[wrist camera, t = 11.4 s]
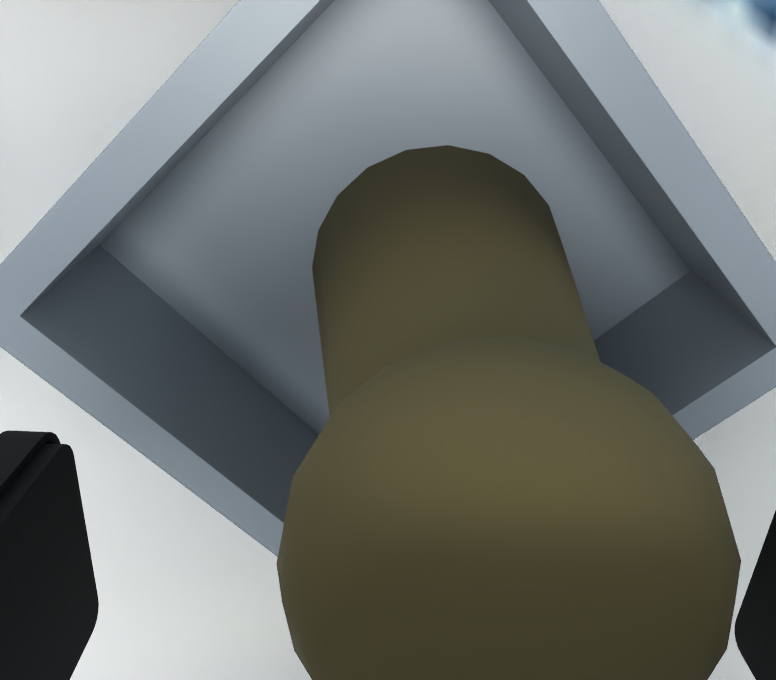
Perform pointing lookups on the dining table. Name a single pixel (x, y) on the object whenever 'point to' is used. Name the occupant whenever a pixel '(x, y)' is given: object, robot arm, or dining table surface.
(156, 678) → the dining table surface
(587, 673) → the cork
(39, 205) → the dining table surface
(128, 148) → the grey bin
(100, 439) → the dining table surface
